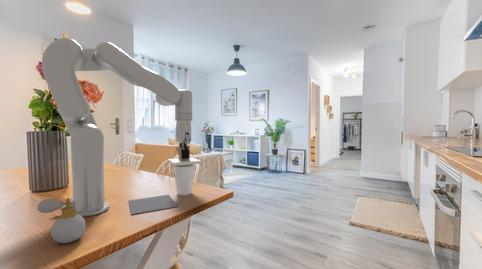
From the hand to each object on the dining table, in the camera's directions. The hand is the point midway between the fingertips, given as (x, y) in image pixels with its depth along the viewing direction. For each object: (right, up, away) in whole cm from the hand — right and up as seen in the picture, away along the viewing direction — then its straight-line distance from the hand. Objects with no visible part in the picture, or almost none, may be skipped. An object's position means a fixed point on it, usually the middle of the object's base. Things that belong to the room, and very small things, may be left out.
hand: (183, 157), depth 103 cm
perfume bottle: (-21, -18, -43) cm, 51 cm away
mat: (-9, -17, -14) cm, 24 cm away
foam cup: (0, -17, +1) cm, 17 cm away
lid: (0, -2, 0) cm, 2 cm away
